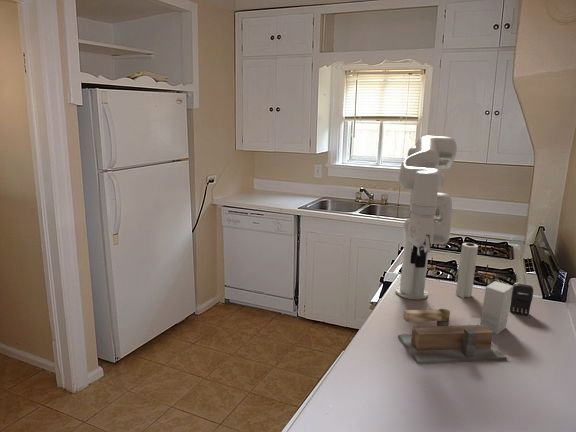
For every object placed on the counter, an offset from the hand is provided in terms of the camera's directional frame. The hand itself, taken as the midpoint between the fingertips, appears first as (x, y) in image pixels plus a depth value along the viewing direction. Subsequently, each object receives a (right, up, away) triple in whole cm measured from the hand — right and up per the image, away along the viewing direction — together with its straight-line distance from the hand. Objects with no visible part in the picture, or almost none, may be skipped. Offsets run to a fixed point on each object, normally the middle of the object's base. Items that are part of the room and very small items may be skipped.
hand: (417, 264), depth 152 cm
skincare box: (+29, -23, +9) cm, 38 cm away
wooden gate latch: (+9, -25, -6) cm, 28 cm away
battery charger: (+44, -21, +22) cm, 54 cm away
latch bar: (+3, -17, -2) cm, 18 cm away
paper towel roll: (+29, -16, +38) cm, 50 cm away
